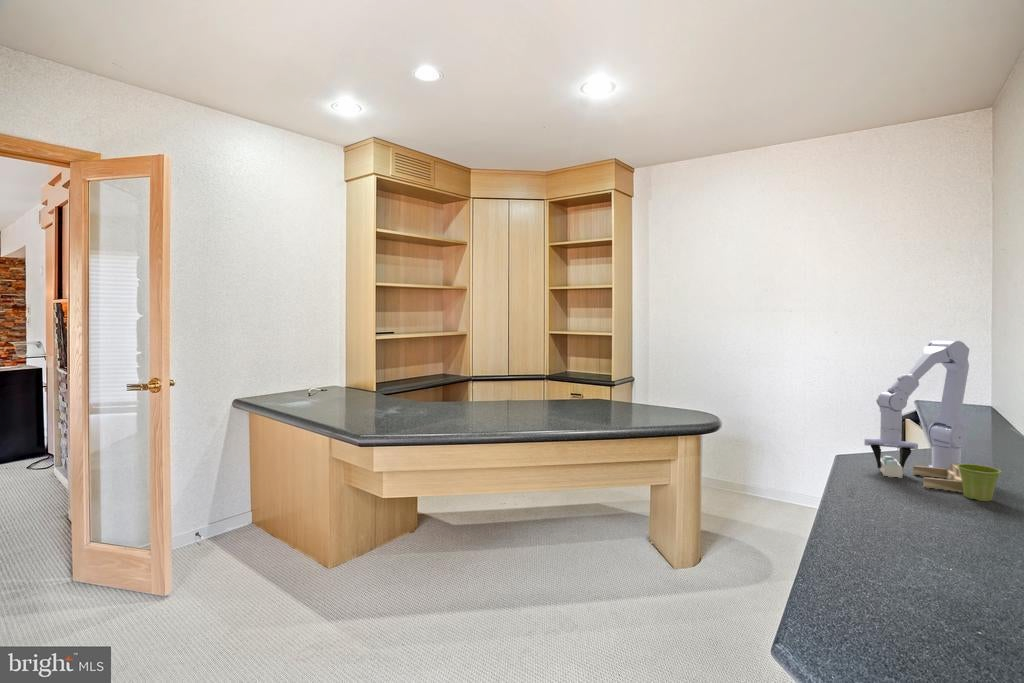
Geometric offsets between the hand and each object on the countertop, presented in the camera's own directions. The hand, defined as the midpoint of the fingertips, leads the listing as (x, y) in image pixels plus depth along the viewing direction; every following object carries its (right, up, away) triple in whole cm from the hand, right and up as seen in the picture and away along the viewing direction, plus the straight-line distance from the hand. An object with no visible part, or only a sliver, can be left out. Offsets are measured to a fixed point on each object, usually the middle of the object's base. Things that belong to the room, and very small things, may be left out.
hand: (890, 468), depth 180 cm
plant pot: (+7, -3, -26) cm, 27 cm away
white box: (0, -1, 0) cm, 1 cm away
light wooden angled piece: (+8, -2, -12) cm, 15 cm away
